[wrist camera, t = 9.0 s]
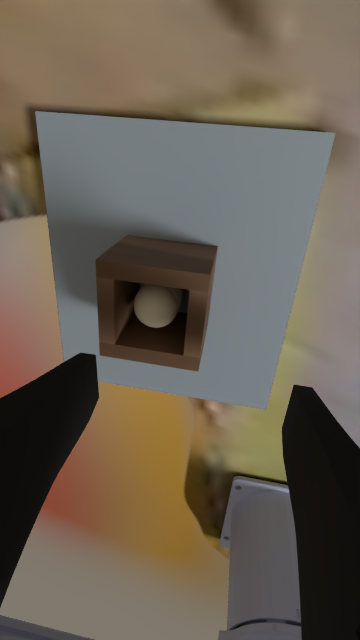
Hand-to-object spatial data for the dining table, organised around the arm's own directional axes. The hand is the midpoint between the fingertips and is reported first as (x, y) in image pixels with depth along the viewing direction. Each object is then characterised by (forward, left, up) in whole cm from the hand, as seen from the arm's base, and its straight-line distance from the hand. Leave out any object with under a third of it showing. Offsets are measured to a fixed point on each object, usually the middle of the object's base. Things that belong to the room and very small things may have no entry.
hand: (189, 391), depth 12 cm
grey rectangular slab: (+1, +3, -9) cm, 10 cm away
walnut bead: (+1, +2, -8) cm, 8 cm away
